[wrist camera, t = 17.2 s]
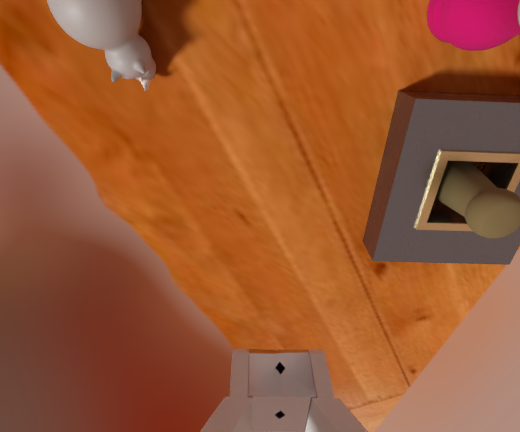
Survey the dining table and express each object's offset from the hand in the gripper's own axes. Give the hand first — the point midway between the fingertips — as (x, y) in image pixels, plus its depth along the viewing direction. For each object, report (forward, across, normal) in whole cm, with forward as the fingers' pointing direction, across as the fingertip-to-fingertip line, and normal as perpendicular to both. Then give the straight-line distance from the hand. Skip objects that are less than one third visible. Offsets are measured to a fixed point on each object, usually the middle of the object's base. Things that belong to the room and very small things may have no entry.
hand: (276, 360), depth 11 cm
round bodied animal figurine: (+31, +14, -9) cm, 36 cm away
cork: (+31, -24, +6) cm, 40 cm away
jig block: (+31, -24, +6) cm, 40 cm away
